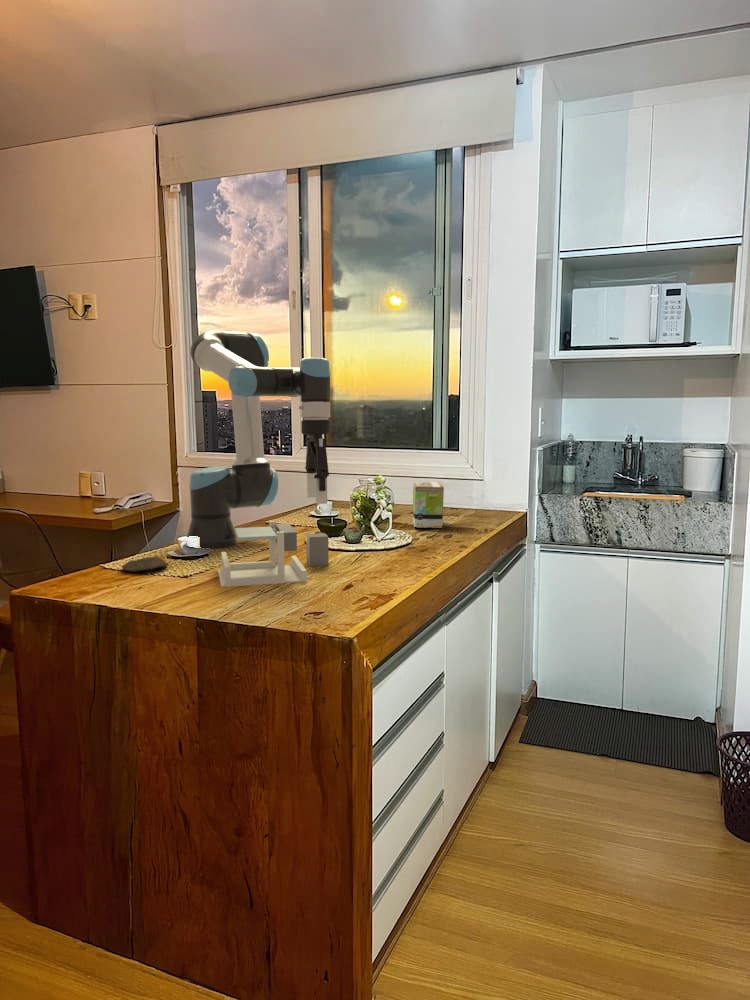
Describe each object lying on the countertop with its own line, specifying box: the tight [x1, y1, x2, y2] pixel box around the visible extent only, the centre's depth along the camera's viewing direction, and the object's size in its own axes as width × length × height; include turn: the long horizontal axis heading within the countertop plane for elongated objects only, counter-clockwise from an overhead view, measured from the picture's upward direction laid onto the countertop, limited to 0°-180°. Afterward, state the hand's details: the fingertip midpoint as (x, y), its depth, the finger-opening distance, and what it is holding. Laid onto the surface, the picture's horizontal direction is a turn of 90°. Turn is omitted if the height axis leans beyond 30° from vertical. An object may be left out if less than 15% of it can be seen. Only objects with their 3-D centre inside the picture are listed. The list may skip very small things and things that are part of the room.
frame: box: [217, 520, 308, 588], centre depth 178 cm, size 18×20×12 cm
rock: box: [121, 555, 169, 572], centre depth 186 cm, size 11×12×3 cm
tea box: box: [412, 481, 445, 528], centre depth 251 cm, size 15×10×15 cm
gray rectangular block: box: [305, 532, 330, 567], centre depth 192 cm, size 5×5×8 cm
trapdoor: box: [234, 523, 298, 552], centre depth 178 cm, size 13×14×4 cm
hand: (317, 500), depth 190 cm, fingers open, 13 cm apart
